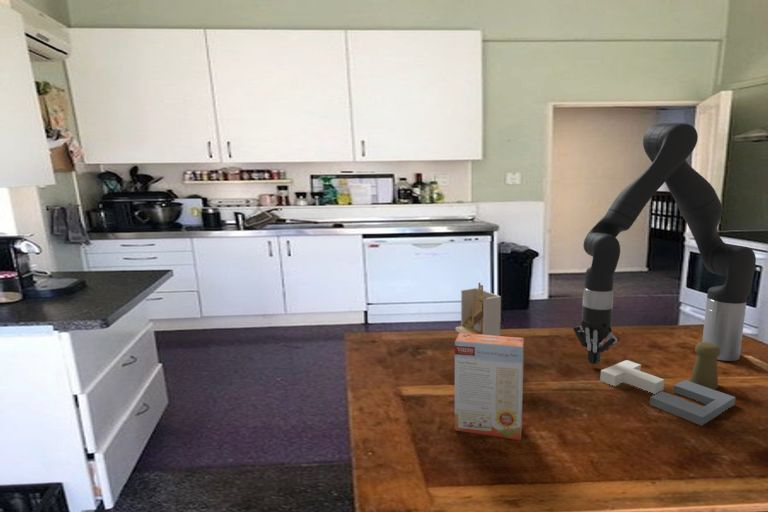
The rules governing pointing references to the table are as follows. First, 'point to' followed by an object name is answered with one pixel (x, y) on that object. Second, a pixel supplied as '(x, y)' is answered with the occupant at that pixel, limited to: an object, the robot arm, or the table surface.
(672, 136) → the robot arm
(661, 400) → the t bay
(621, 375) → the t block
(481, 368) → the cracker box
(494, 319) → the beige open box
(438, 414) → the table surface
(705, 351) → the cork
